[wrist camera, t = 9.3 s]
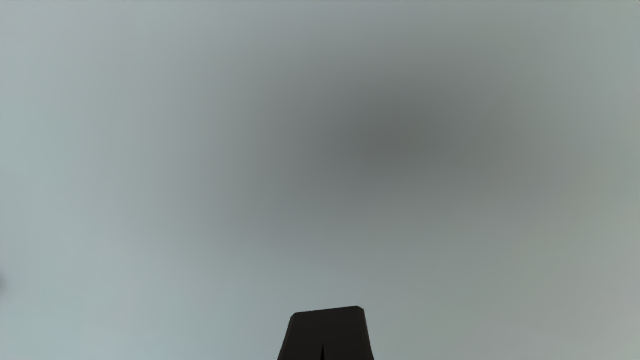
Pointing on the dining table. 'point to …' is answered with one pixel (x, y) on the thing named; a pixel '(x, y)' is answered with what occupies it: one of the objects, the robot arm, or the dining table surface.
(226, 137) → the dining table surface
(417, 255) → the dining table surface
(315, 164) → the dining table surface
